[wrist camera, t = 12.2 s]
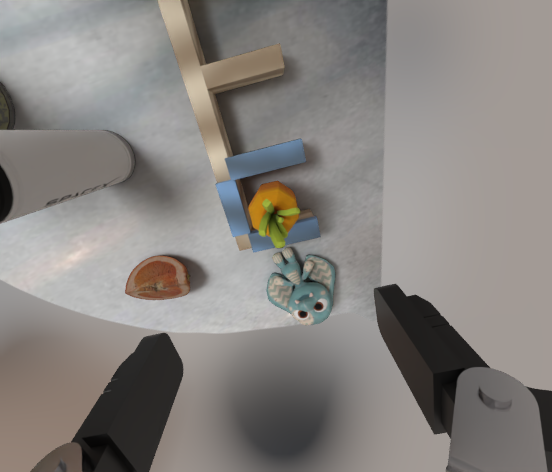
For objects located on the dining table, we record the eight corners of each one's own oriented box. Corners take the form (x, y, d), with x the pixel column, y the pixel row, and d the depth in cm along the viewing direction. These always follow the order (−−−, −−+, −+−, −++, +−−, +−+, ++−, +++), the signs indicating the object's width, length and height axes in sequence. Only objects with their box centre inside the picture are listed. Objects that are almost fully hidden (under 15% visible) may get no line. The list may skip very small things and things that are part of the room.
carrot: (258, 167, 33) (246, 193, 19) (296, 174, 33) (312, 205, 19) (252, 205, 35) (237, 253, 21) (289, 211, 35) (298, 263, 21)
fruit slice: (191, 247, 37) (180, 264, 33) (202, 287, 40) (193, 308, 35) (134, 255, 37) (115, 272, 33) (149, 294, 40) (133, 315, 35)
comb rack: (159, -22, 26) (135, -55, 21) (259, -54, 25) (256, -95, 21) (242, 240, 37) (238, 255, 32) (314, 223, 36) (320, 236, 31)
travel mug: (73, 131, 31) (-218, 132, 13) (129, 129, 31) (-80, 127, 13) (89, 183, 33) (-136, 249, 15) (141, 181, 33) (-21, 245, 15)
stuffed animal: (316, 239, 31) (361, 320, 33) (313, 228, 38) (350, 295, 40) (241, 279, 33) (288, 353, 35) (251, 261, 40) (289, 324, 42)
